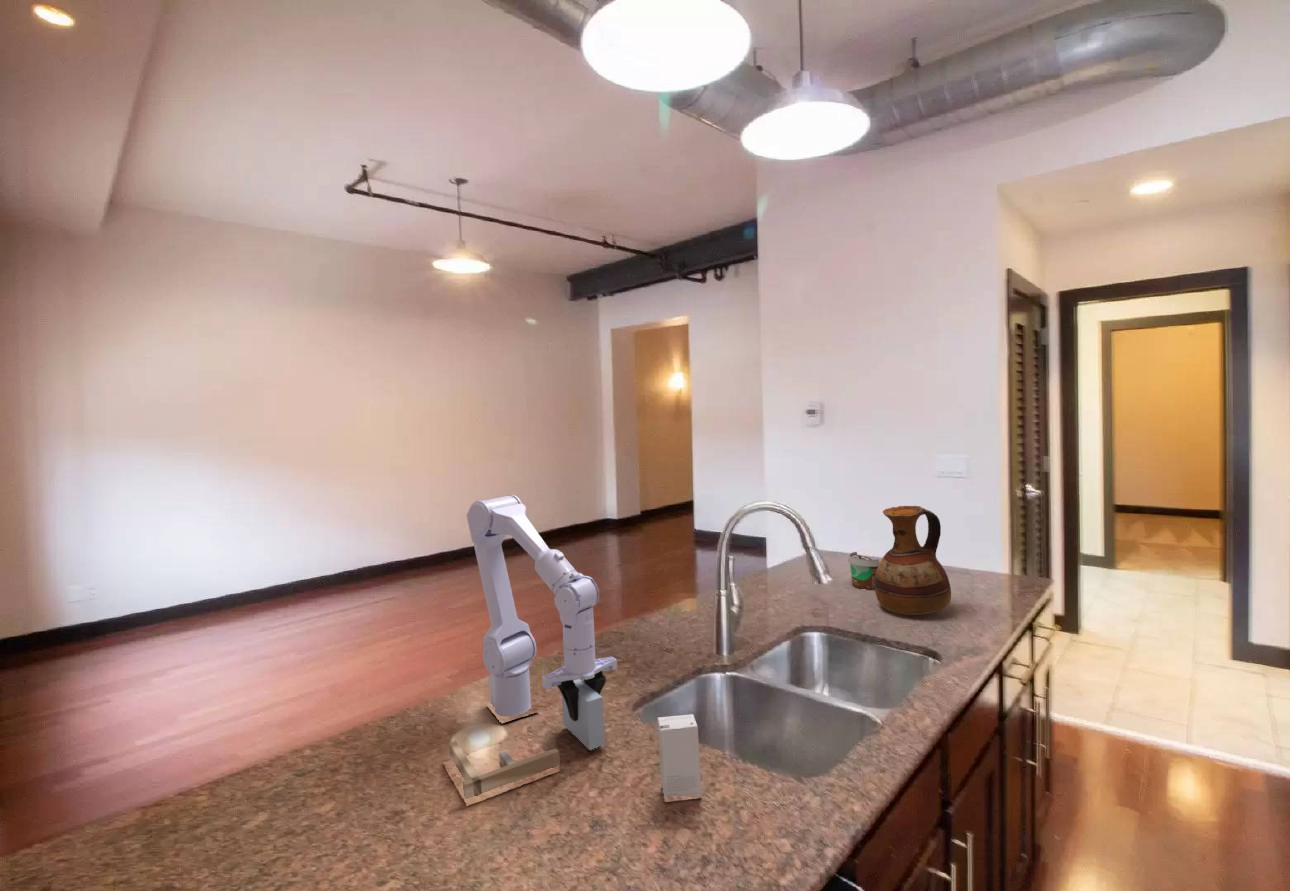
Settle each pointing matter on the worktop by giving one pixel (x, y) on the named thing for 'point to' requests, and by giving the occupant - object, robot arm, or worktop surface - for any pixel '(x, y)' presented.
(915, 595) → the ceramic pitcher
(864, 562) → the food container
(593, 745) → the book
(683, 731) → the skincare box
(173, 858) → the worktop surface
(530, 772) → the book rack
